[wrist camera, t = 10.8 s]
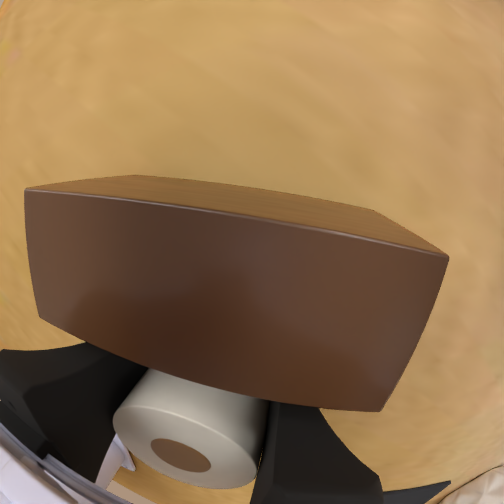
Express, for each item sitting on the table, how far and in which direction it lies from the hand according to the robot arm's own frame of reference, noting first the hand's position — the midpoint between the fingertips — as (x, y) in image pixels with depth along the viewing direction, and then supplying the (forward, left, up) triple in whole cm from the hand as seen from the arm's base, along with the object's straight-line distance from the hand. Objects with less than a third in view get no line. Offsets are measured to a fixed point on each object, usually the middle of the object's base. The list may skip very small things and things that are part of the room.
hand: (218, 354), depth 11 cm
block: (0, +5, -2) cm, 5 cm away
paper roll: (0, 0, -2) cm, 2 cm away
